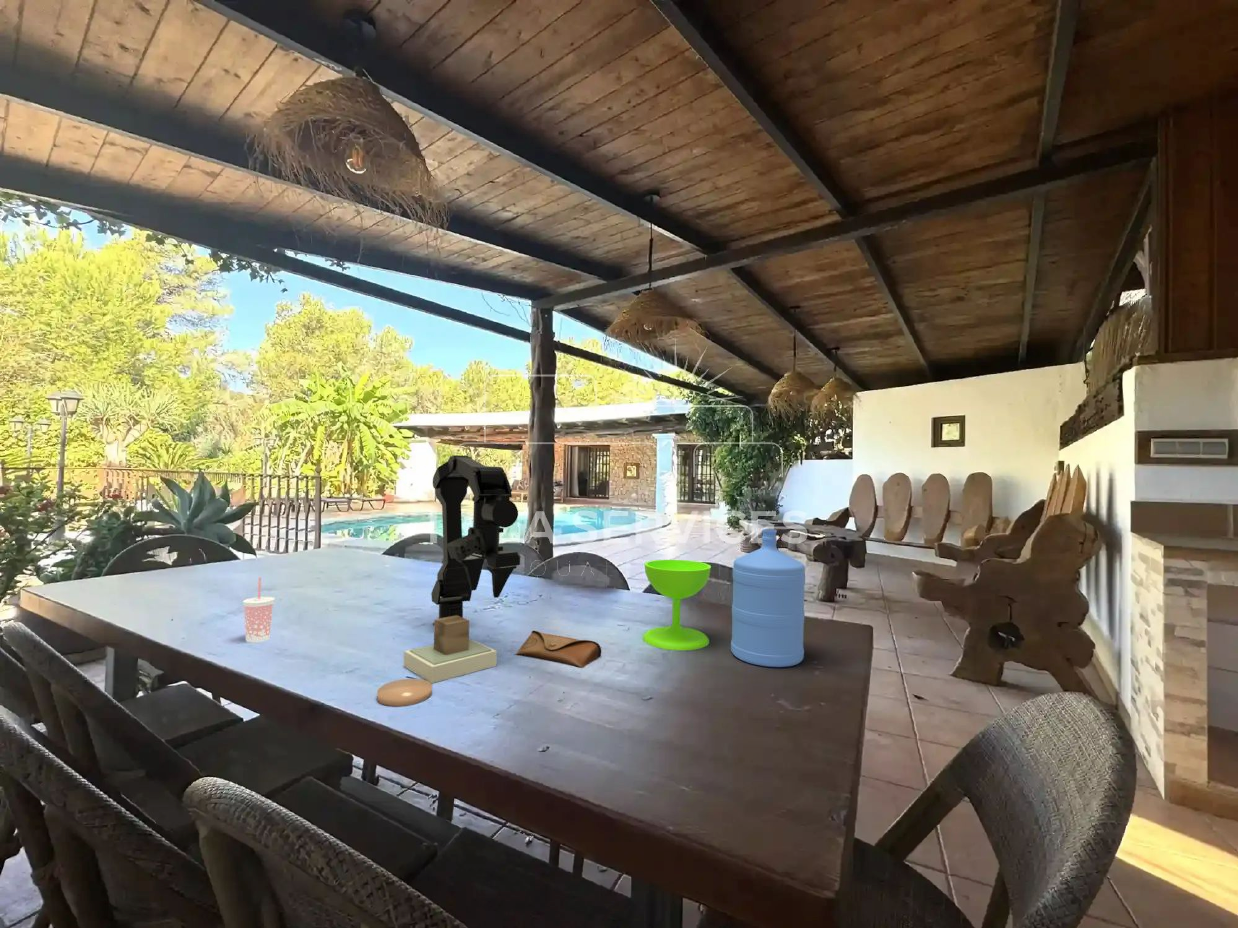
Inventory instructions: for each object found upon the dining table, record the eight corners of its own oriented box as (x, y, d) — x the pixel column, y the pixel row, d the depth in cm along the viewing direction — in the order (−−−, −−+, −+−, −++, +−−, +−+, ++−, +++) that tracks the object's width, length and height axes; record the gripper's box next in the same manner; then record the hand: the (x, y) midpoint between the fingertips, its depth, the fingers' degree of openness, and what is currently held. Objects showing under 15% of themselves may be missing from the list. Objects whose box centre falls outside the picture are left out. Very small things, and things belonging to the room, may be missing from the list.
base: (403, 666, 111) (404, 649, 111) (466, 651, 121) (466, 635, 121) (431, 683, 103) (432, 665, 103) (496, 665, 113) (496, 649, 113)
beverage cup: (270, 641, 124) (272, 579, 124) (238, 644, 122) (240, 580, 122) (276, 634, 130) (278, 574, 130) (245, 636, 128) (247, 575, 128)
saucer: (368, 694, 97) (368, 687, 97) (417, 681, 103) (418, 674, 103) (390, 710, 91) (390, 703, 91) (441, 696, 97) (441, 689, 97)
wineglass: (635, 645, 128) (637, 567, 128) (651, 627, 143) (653, 557, 144) (704, 653, 123) (706, 573, 124) (713, 633, 139) (714, 562, 139)
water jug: (808, 671, 114) (811, 535, 114) (730, 664, 117) (733, 532, 117) (799, 648, 129) (801, 528, 129) (730, 642, 132) (733, 525, 132)
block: (433, 648, 112) (434, 619, 112) (456, 643, 116) (457, 615, 116) (445, 655, 108) (446, 624, 109) (468, 649, 112) (469, 620, 112)
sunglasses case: (510, 654, 119) (519, 624, 123) (525, 662, 125) (534, 633, 128) (584, 668, 112) (592, 635, 115) (596, 676, 118) (604, 644, 121)
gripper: (432, 521, 123) (430, 591, 123) (476, 529, 110) (474, 607, 110) (476, 519, 131) (474, 585, 131) (522, 526, 118) (520, 599, 118)
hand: (484, 593), depth 122 cm, fingers open, 9 cm apart
